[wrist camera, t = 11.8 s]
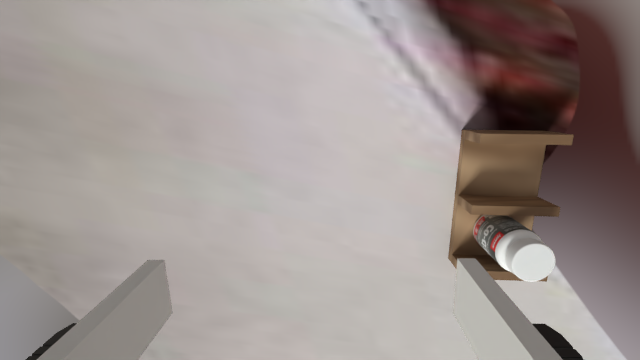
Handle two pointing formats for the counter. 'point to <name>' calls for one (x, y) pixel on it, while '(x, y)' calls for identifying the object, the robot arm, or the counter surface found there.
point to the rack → (498, 187)
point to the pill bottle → (514, 247)
